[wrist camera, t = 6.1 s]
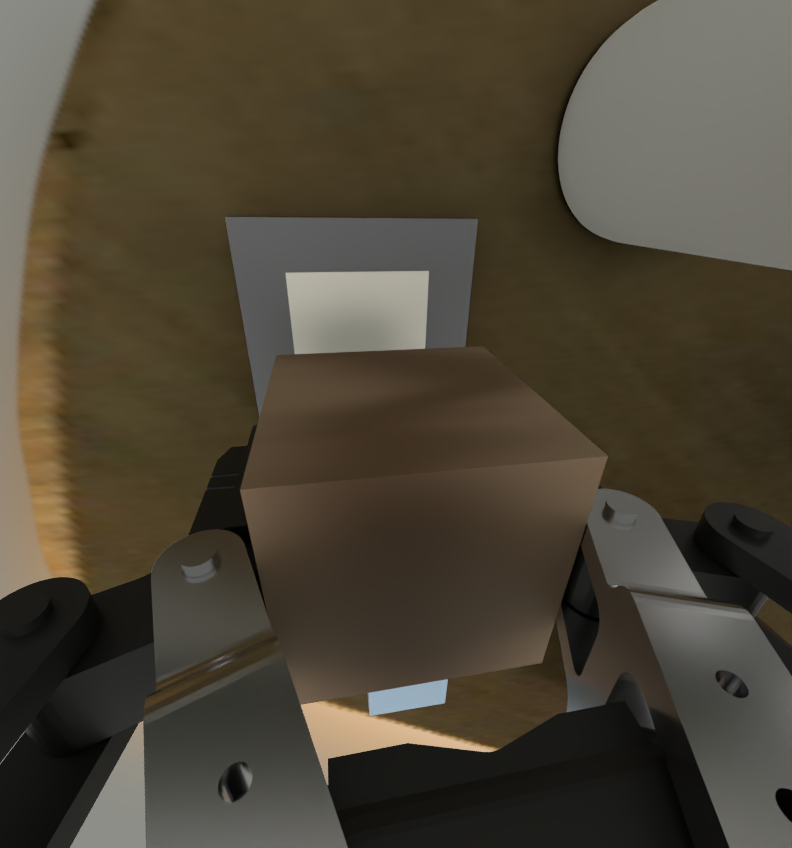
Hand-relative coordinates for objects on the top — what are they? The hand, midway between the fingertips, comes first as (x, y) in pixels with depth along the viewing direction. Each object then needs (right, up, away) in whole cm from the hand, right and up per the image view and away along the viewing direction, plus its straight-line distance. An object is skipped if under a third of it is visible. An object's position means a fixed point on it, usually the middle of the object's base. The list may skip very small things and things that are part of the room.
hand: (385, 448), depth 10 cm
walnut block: (0, 0, 0) cm, 0 cm away
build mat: (-1, +5, +8) cm, 10 cm away
